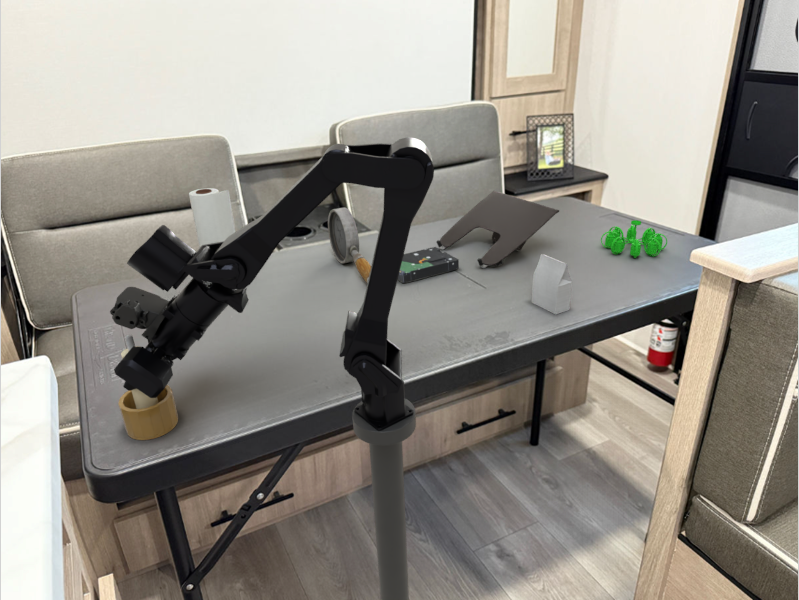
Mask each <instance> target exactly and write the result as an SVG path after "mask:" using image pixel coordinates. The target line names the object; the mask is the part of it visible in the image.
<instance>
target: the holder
mask: <svg viewBox="0 0 799 600" xmlns="http://www.w3.org/2000/svg"><path fill="white" fill-rule="evenodd" d="M157 399H158V404H156V405H153V406H151V407H148V408H142V409H137V408H136V405H135V401H134V398H133V394H132V391H129V390H127V391H126V392H124V393H123V394H122V395H121V396H120V397H119V399H118V403H117V406H118V408H119V412H120V415H121V419H122V423H123V426H124V429H125V432H126V435H127V436H128V437H129V438H131V439H132V440H137V441H148V440H154V439H157V438H160V437H162V436H165V435H166V434H169V433H170V432H171V431H173V429H175V427H176V426H177V425H178V423H179V414H178V409H177V405H176V400H175V397H174V392H173V389H172V388H171V386H170V385H169V384H167V385H166V387H165V388H164V390H163V391H162V392H161V393H160V394H159V395H158V396H157Z"/></svg>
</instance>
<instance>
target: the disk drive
mask: <svg viewBox="0 0 799 600" xmlns="http://www.w3.org/2000/svg"><path fill="white" fill-rule="evenodd" d="M459 261H460V260H459V259H458V258H457V257H455V256H453V255H451V254H450V253H447V252H446V251H444V252H443V251H442V250H441V249H440V248H439V247H437V246H433V247H428V248H424V249H419V250H416V251H412V252H408V253H404V255H403V259H402V264H401V268H400V272H399V276H398V280H397V281H399V282H400V283H403V284H405V283H406V284H407V283H411V282H415V281H418V280H423V279H427V278H430V277H433V276H434V277H435V276H438V275H442V274H445V273H450V272H453V271H456V270H458V269H459V266H460V265H459V264H460V262H459Z"/></svg>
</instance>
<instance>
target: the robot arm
mask: <svg viewBox="0 0 799 600" xmlns="http://www.w3.org/2000/svg"><path fill="white" fill-rule="evenodd" d="M431 153H432V152H431V151H430V149H429V147H428V146H427V145H426V144H425V143H424V142H423V141H422V140H420V139H419V138H416V137H408V136H407V137H402V138H399V139H398V140H397V141H394V142H393V143H384V142H383V143H379V142H378V143H366V144H365V143H364V144H343V143H335V144H332V145H331V146H329V147H328V148H327V149H326V150H325V152H324V154H323V155H322V156H321V157H320V158H319V160H317V161H316V162H315V163H314V164H313V165H312V166H311V167H310V168H309V169H308V170H307V171H306V172H305V173H304V174H303V175H302V176H301V177H300V178H299V179H298V180H297V181H296V182H295V183H294V184H293V185H292V186H291V187H290V188H289V189H288V190H287V191H286V192H285V193H284V194H283V195H282V196H281V197H280V198H278V200H277V201H275V203H274V204H272V206H271V207H270V208H268V210H267V211H266V212H265V213H264V214H262V215H261V216H259V217H258V218H256V219H254V220H252V221H251V222H249V223H247V224H245V225H243V226H242V227H240V228H239V229H237V230H235V231H236V232H235V233H233V234H232V235H230V236H229V237H228V238H226V240H225V241H223V242H217V243H211V244H205V245H202V246H201V247H200V248H199V247H198V249H197V250H195V249H194V248H192V247H191V246H190V245H189V244H187V243H186V242H185V241H183V240H182V239H181V238H179V237H178V236H177V235H176V234H175V233H174V232H173V231H172V230H171V229H170V228H169V227H167V226H166V225H165V224H161V225H160V226H159V227H158V228H157V229H156V230H155V231H154V232H153V234H152V235H151V236H150V237H149V238H148V239H147V240H146V241H145V242H144V243H143V244H142V245H141V246H139V247H138V248H137V249H136V250H135V251H134V253H133V254H132V255H131V256H130V257H129V259H128V261H127V262H126V265H128V266H129V267H130V268H132V269H133V270H135V271H136V272H137V273H139V274H140V275H142V276H143V277H144V278H146V279H147V280H148V281H149V282H151V283H152V284H154V285H155V286H157V287H158V288H159V289H160V290H162V291H163V292H164V291H166V292H167V293H168V292H170V290H171V289H174V290H177V289H178V288H179V287H180V286H181V285H182V283H184V281H185V280H186V279H187V277H188V276H190V277H191V278H192V279H191V280H190V281H189V282H188V283H187V284H186V285H185V286H184V288H183V289H182V290H181V292H179V293H178V294H177V295H173V297H172V298H170V300H167V299H165V298H162V297H161V296H160V295H159V294H156V293H153V292H150V291H147V290H145V289H142V288H139V287H136V286H128V287H126V288H124V290H123V291H121V293H120V294H119V295H118V296H116V300H115V303H114V305H113V307H112V308H111V309H110V310H109V313H110V315H111V319H112V320H113V323H115V324H116V325H118V326H121V327H124V328H127V329H129V330H134V329H136V328H137V329H139V330H144V332H143V333H141V336H142V337H143V338H144V339H146V340H147V345H146V346H145V347H144V346H141V347H135V346H136V345H135V346H133V347H132V348H131V349H130V350H129V352H128V353H127V354H126V355H125V356H124V358H123V359H122V358H121V360H120V362H118V363H117V364H116V365H115V367H114V368H113V371H114V374H115V376H117V377H118V378H120V379H122V380H123V381H124V384H123V385H122V387H123V388H124V389H125V390H127V391H131V390H134V389H138V390H139V391H141V392H142V393H144V394H145V395H147V396H148V397H150V398H156V397H157V396H158V395H159V394H160V393H161V392H162V391H163V390H164V388H165V387H166V385H169V382H170V380H171V379H172V378H173V376H174V373H173V369H172V367H173V366H174V361H175V360H177V359H178V360H180V361H181V360H182V359H183V358H185V356H186V355H187V353H188V351H189V349H190V348H191V347H192V346H193V345H194V344H195V343H196V341H197V342H199V341H200V340H201V339H202V338H203V336H204V335H205V333H206V331H207V330H208V329H209V327H211V325H212V324H213V323H214V321H216V320H217V318H218V317H219V316H220V315H221V314H222V312H223V311H225V310H226V308H227V307H228V306H229V307H230V308H232V309H233V310H234V311H235V312H237V313H238V314H242V313H243V312H244V310H245V308H246V306H247V304H248V303H249V298H248V294H247V289H248V287H249V286H250V285H251V284H252V283H253V282H254V280H255V279H256V277H257V276H258V275H259V273H260V272H261V270H262V269H263V268H264V266H265V265H266V263H267V262H268V260H269V259H270V257H271V256H272V254H273V253H274V251H275V250H276V248H277V247H278V245H279V244H280V243H281V242H282V241H283V240H284V239H285V238H286V237H287V236H288V235H289V234H291V232H292V231H293V230H294V229H295V228H297V227H298V226H299V225H300V224H301V223H302V222H303V221H304V220H305V219H306V218H307V217H308V216H309V215H310V214H311V213H312V212H313V211H314V210H316V208H318V206H320V204H322V203H323V202H324V201H325V200H326V199H327V198H328V197H329V196H330V195H331V194H332V193H333V192H334V191H335V190H336V189H337V188H339V186H341V185H342V184H354V185H359V186H362V187H363V186H364V187H370V188H375V189H383V212H382V216H381V221H380V224H379V225H380V226H379V230H378V234H377V240H376V244H375V248H374V253H373V257H372V261H371V270H370V275H369V279H368V283H366V289H365V294H364V298H363V302H362V304H361V306H360V308H359V310H358V312H355V311H352V310H347V317H346V322H345V327H344V331H343V332H342V338H341V344H340V349H339V355H338V356H339V357H340V358H343V368H344V370H345V371H346V372H347V374H349V376H351V377H352V378H354V379H356V382H357V383H358V385H359V387H360V395H361V401H362V402H363V404H362V405H360V406H357V407H356V406H355V407H353V410H354V412H355V413H356V414H357V415H359V416H360V417H361V418H362V419H364V420H365V421H366V422H367V423H369V424H370V425H371V426H372V427H374V428H375V429H376V430H377V431H382V430H384V429H386V428H388V427H390V426H392V425H394V424H396V423H398V422H400V421H402V420H404V419H406V418H408V417H410V416H412V415H413V414H414V410H412V409H411V408H410V407H408V406H407V405H405V399H406V397H405V395H406V393H405V381H404V380H403V350H402V349H401V348H400V347H399V346H398V345H396V344H395V343H394V342H393V341H391V340H390V339H389V338H388V329H389V328H388V327H389V326H388V325H389V316H390V312H391V308H392V305H393V300H394V296H395V292H396V288H397V284H398V281H399V280H398V276H399V272H400V268H401V264H402V259H403V255H404V254H405V252H406V246H407V242H408V238H409V234H410V231H411V226H412V223H413V221H414V219H415V217H416V215H417V214H418V212H419V210H420V208H421V206H422V205H423V203H424V200H425V198H426V196H427V194H428V192H429V190H430V187H431V186H432V184H433V183H432V182H433V180H434V176H435V167H434V161H433V159H432V158H433V157H432V154H431Z"/></svg>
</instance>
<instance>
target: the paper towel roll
mask: <svg viewBox="0 0 799 600" xmlns="http://www.w3.org/2000/svg"><path fill="white" fill-rule="evenodd" d="M188 197H189V201H190V207H191V212H192V218H193V222H194V227H195V228H194V229H195V233H196V238H197V243H198V244H197V245H198V249H199V248H200V247H201V246H202V245H205V244H211V243H217V242H223V241H225V240H226V238H228V237H229V236H230V235H232V234H233V233H235V232H236V231H237V230H236V225H235V219H234V213H233V207H232V202H231V201H232V200H231V195H230V189H225V190H222V191H220V190H219V189H218V188H213V187H208V188H207V187H206V188H198V189H195V190H191V191H190V192H189V193H188Z"/></svg>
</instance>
